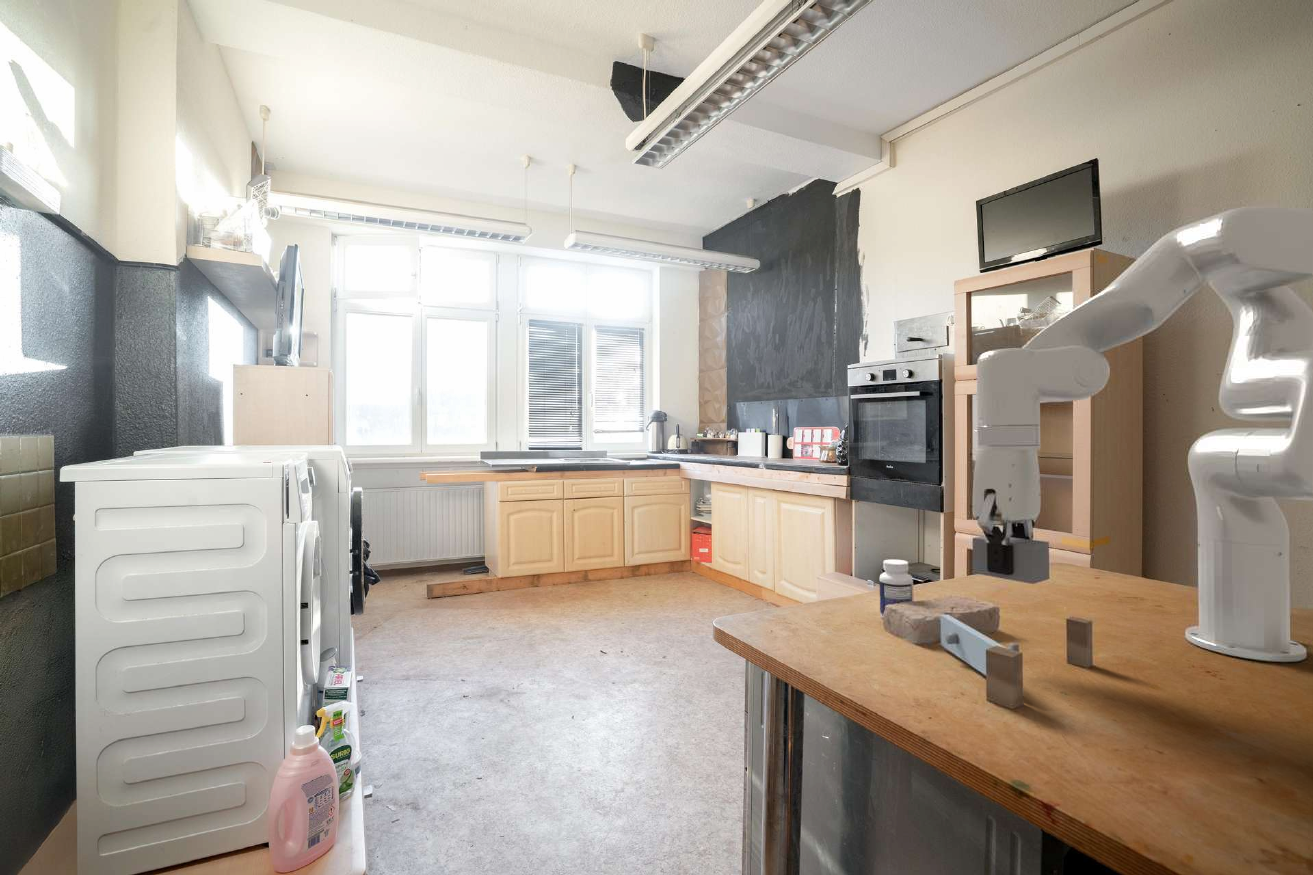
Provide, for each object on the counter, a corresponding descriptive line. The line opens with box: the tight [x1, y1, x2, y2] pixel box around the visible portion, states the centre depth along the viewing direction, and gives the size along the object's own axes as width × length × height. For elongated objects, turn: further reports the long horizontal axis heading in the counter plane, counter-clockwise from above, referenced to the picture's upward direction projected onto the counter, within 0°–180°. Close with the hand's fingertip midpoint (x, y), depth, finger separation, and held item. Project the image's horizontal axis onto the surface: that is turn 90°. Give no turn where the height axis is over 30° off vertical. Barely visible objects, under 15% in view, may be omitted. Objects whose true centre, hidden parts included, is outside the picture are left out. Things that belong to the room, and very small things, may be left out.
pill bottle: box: [879, 559, 914, 619], centre depth 105 cm, size 5×5×10 cm
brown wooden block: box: [985, 646, 1024, 710], centre depth 72 cm, size 2×3×6 cm
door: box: [940, 615, 1020, 676], centre depth 81 cm, size 17×2×6 cm, turn 2°
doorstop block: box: [972, 534, 1050, 585], centre depth 85 cm, size 4×8×5 cm, turn 34°
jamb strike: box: [1065, 616, 1094, 668], centre depth 83 cm, size 2×2×6 cm
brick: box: [882, 594, 1001, 645], centre depth 98 cm, size 17×8×5 cm, turn 108°
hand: (1009, 569), depth 85 cm, fingers closed on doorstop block, 4 cm apart
